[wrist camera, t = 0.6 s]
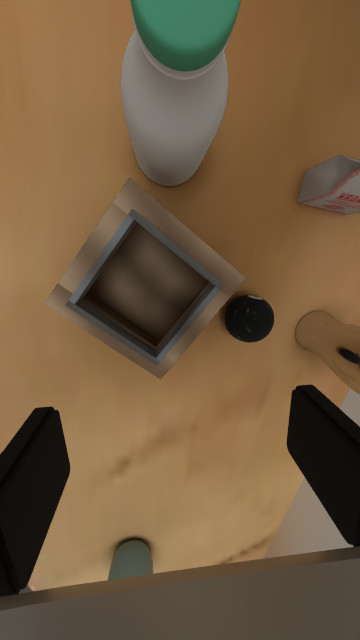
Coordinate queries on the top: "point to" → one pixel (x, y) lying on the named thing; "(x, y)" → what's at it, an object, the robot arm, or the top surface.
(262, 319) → the billiard ball
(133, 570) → the cup
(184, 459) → the top surface
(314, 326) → the beer glass
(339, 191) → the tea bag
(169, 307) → the housing
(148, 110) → the milk bottle
